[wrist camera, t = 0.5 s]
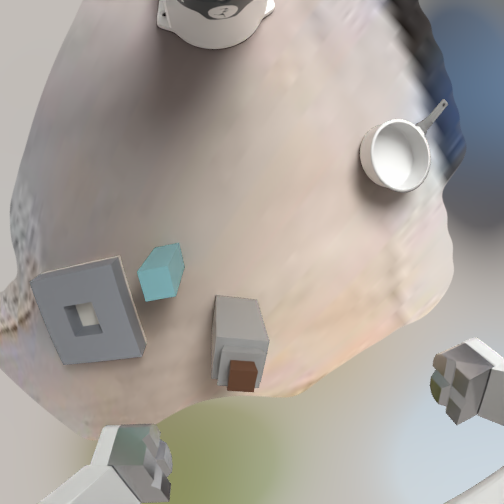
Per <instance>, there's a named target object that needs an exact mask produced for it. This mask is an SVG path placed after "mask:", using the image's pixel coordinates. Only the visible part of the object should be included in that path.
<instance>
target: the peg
mask: <svg viewBox="0 0 504 504" xmlns="http://www.w3.org/2000/svg"><path fill="white" fill-rule="evenodd" d="M184 268H185V266H184V262H183V258H182V254H181V249H180V245H179V243H175V244H170V245H165V246H161V247H156V248H154V249H153V251H152V252H151V253H150V255H149V256H148V257H147V259H146V260H145V262H144V263H143V264H142V266H141V267H140V269H139V270H138V271H137V274H138V277H139V281H140V284H141V287H142V291H143V294H144V297H145V301H146V302H147V301H152V300H158V299H163V298H169V297H174V296H176V294H177V291H178V287H179V284H180V281H181V277H182V274H183V271H184Z"/></svg>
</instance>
